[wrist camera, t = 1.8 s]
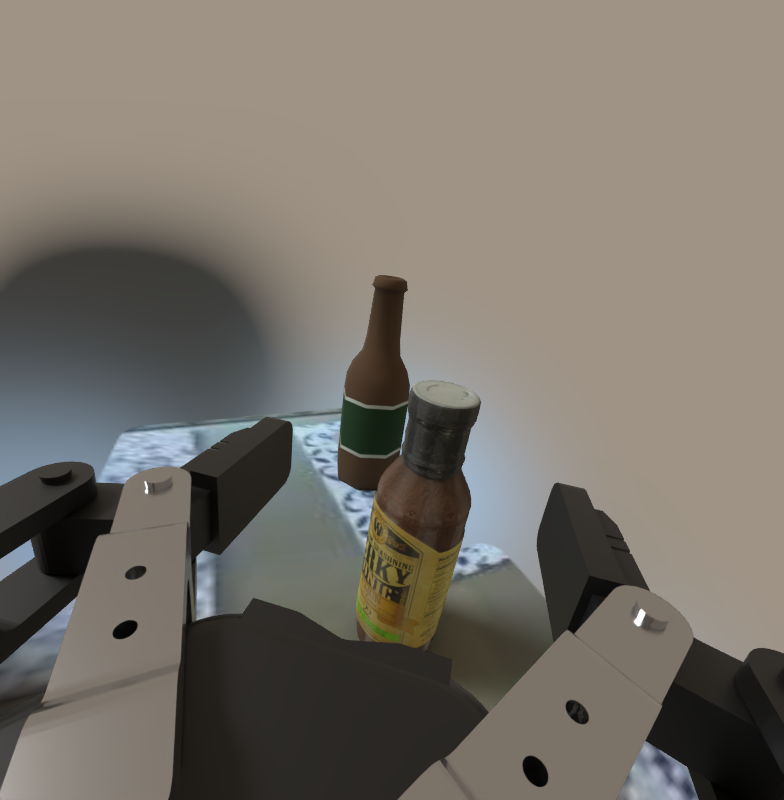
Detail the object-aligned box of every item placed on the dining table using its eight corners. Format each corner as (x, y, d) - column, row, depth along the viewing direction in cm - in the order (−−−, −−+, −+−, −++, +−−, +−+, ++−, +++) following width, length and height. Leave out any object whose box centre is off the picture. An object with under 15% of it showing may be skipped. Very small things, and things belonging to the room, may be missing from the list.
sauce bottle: (340, 609, 31) (369, 371, 23) (408, 586, 34) (452, 368, 26) (376, 689, 26) (428, 416, 18) (452, 653, 29) (522, 406, 21)
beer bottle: (351, 498, 44) (377, 279, 35) (324, 463, 50) (341, 268, 41) (407, 484, 48) (443, 285, 39) (377, 453, 54) (402, 275, 45)
